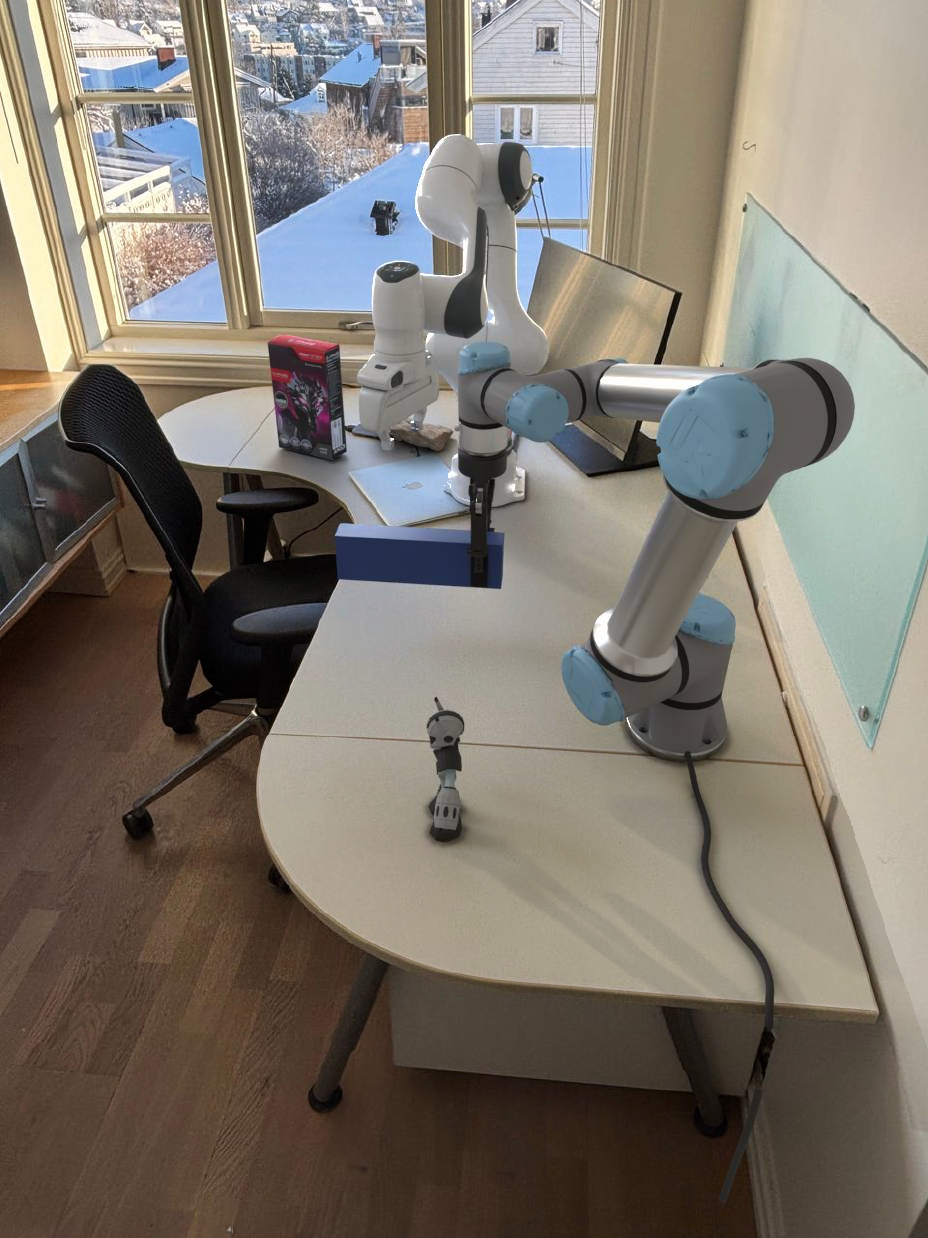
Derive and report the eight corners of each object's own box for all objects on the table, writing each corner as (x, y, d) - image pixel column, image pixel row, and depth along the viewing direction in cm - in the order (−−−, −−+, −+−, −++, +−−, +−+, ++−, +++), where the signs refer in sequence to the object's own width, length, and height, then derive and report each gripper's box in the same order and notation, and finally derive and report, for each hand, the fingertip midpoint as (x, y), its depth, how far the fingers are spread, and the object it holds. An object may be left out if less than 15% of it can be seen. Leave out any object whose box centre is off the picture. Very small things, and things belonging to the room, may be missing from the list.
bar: (502, 575, 155) (504, 532, 151) (501, 589, 152) (502, 545, 147) (343, 566, 158) (340, 523, 153) (337, 579, 154) (334, 535, 149)
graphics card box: (276, 448, 231) (264, 340, 216) (293, 439, 236) (282, 332, 221) (333, 462, 225) (324, 351, 209) (349, 452, 230) (341, 343, 214)
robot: (467, 874, 119) (468, 759, 108) (429, 876, 119) (427, 760, 108) (460, 769, 135) (460, 659, 124) (426, 770, 135) (424, 660, 124)
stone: (355, 434, 231) (360, 411, 228) (377, 426, 244) (381, 404, 242) (433, 459, 227) (439, 435, 225) (451, 449, 241) (456, 426, 238)
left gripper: (417, 344, 167) (419, 417, 174) (350, 377, 152) (355, 455, 160) (447, 350, 164) (447, 424, 172) (382, 384, 149) (385, 463, 157)
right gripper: (463, 424, 148) (462, 550, 161) (452, 469, 134) (452, 605, 147) (510, 426, 147) (505, 553, 160) (503, 472, 133) (499, 607, 146)
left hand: (402, 439), depth 166 cm, fingers open, 8 cm apart
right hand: (480, 577), depth 153 cm, fingers closed on bar, 4 cm apart
